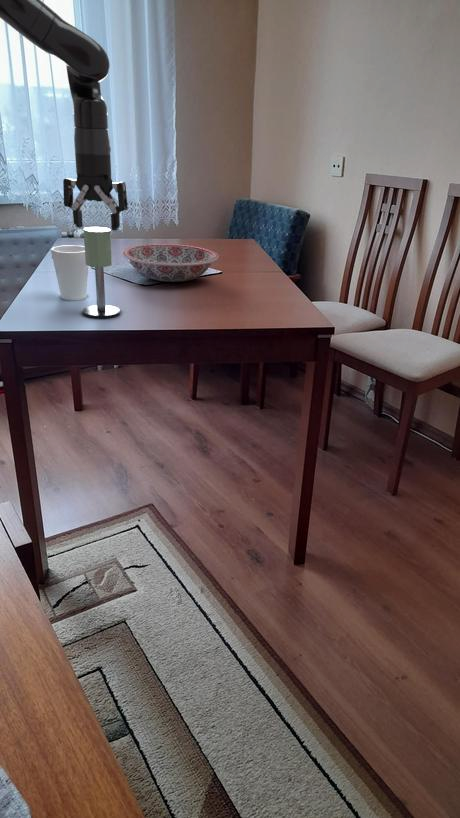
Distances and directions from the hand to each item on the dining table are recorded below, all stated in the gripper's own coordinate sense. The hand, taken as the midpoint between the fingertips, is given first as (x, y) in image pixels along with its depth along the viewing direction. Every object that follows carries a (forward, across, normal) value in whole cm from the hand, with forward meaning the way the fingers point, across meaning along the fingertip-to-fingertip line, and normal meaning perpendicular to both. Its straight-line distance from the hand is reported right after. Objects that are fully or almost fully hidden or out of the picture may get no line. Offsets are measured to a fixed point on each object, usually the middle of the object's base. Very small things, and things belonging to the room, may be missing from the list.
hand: (97, 228), depth 128 cm
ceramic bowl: (+21, +7, +40) cm, 46 cm away
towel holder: (+21, 0, 0) cm, 21 cm away
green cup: (+8, 0, 0) cm, 8 cm away
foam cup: (+21, -12, +11) cm, 26 cm away
